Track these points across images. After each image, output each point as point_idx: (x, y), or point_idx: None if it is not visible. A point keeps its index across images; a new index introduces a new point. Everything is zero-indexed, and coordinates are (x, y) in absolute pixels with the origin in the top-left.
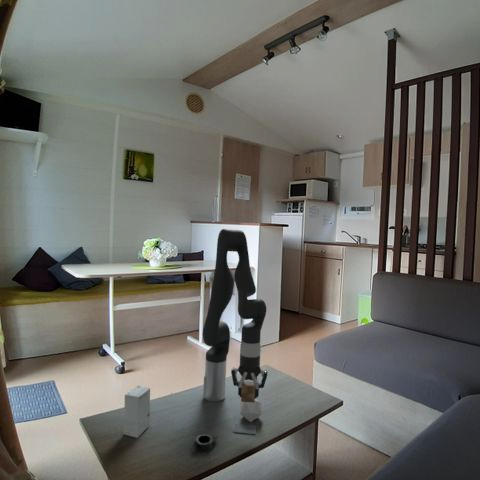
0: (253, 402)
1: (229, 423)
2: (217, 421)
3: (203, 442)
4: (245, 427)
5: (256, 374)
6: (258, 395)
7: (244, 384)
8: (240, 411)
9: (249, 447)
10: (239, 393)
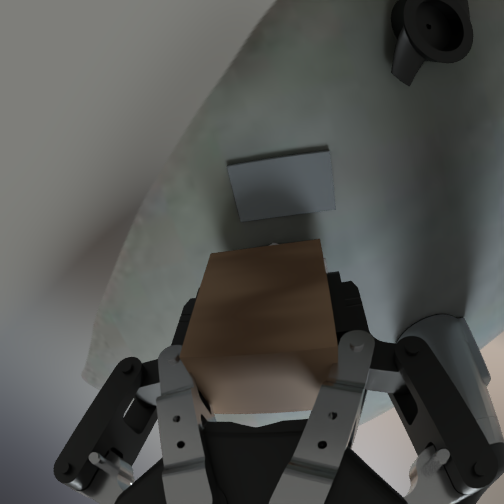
0: (218, 252)
1: (362, 209)
2: (413, 209)
3: (436, 42)
4: (284, 197)
5: (156, 485)
6: (183, 309)
7: (309, 371)
8: (325, 267)
9: (227, 70)
10: (346, 294)
